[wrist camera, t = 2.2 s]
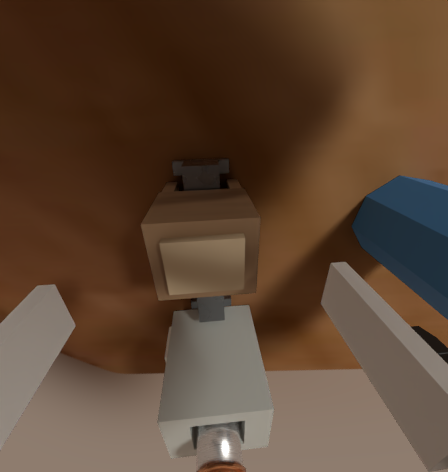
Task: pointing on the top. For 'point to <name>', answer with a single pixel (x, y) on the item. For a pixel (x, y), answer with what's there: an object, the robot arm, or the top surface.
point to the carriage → (202, 242)
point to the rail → (204, 178)
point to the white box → (213, 381)
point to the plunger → (219, 448)
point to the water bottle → (409, 235)
